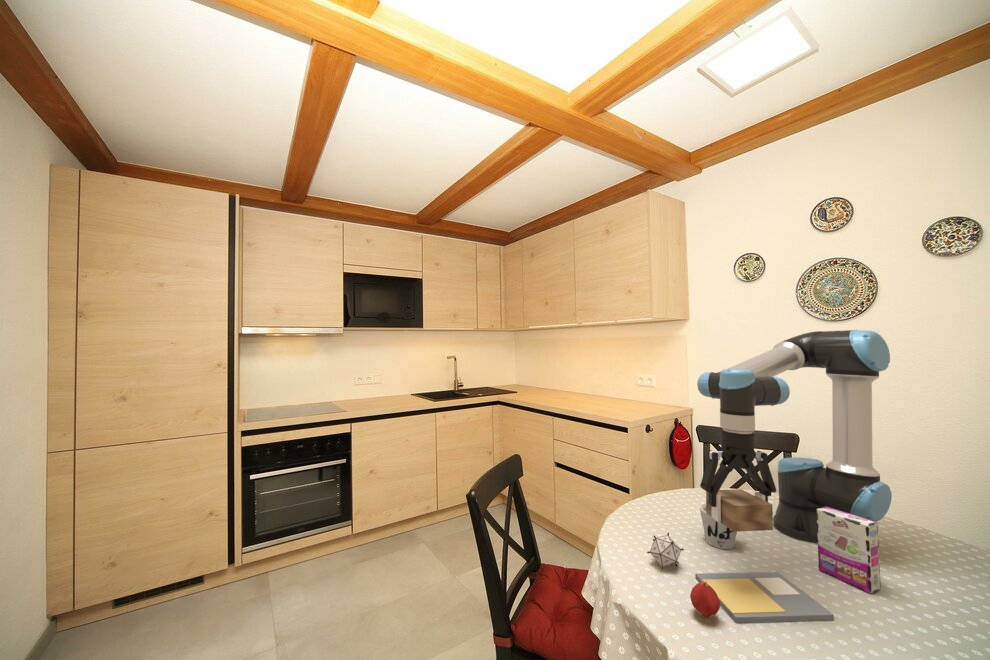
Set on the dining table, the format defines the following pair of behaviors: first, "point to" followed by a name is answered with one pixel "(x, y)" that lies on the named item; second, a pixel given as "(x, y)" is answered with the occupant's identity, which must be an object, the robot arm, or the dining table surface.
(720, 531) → the mug
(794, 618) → the board
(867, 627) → the dining table surface
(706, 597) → the red oval piece
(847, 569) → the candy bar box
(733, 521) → the walnut slab
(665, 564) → the game die
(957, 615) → the dining table surface
